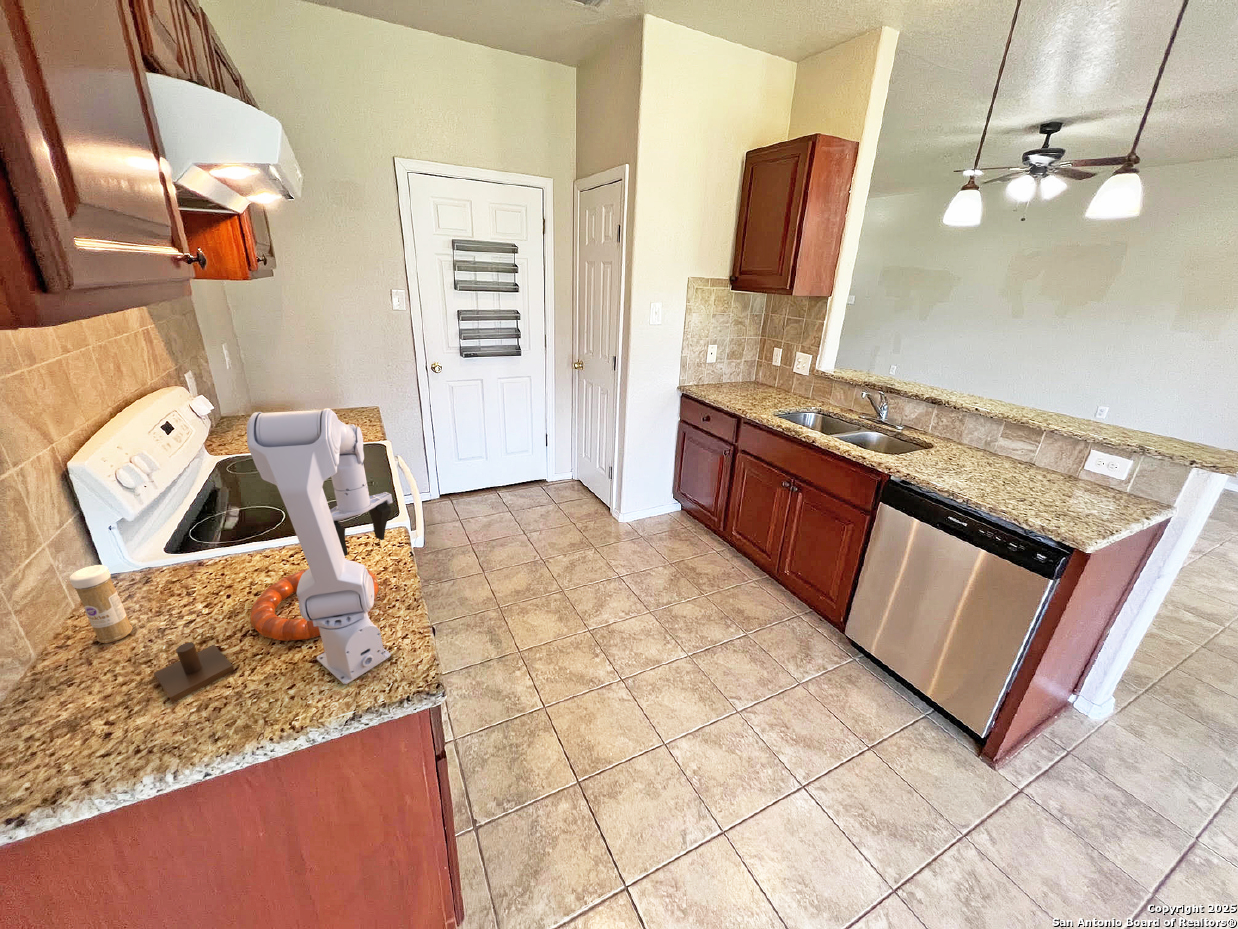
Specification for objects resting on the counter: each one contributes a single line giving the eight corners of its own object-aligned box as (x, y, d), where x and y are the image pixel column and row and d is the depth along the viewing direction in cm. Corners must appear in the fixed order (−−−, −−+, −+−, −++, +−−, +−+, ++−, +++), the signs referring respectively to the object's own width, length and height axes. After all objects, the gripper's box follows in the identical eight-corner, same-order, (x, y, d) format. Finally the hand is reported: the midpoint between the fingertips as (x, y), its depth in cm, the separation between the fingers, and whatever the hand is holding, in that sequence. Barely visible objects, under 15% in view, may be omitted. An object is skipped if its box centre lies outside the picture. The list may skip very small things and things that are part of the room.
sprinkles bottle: (91, 646, 84) (60, 581, 79) (108, 629, 88) (79, 565, 83) (124, 641, 86) (96, 576, 81) (139, 624, 90) (113, 562, 85)
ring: (400, 599, 98) (398, 584, 97) (284, 662, 82) (280, 645, 81) (345, 563, 109) (342, 549, 108) (234, 613, 93) (229, 597, 92)
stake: (234, 671, 80) (225, 643, 78) (172, 703, 74) (160, 674, 72) (215, 649, 84) (206, 623, 82) (155, 678, 78) (143, 650, 76)
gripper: (374, 468, 102) (384, 526, 107) (300, 492, 91) (315, 555, 96) (394, 477, 98) (403, 536, 103) (319, 502, 87) (333, 567, 92)
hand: (362, 546), depth 99 cm, fingers open, 7 cm apart
